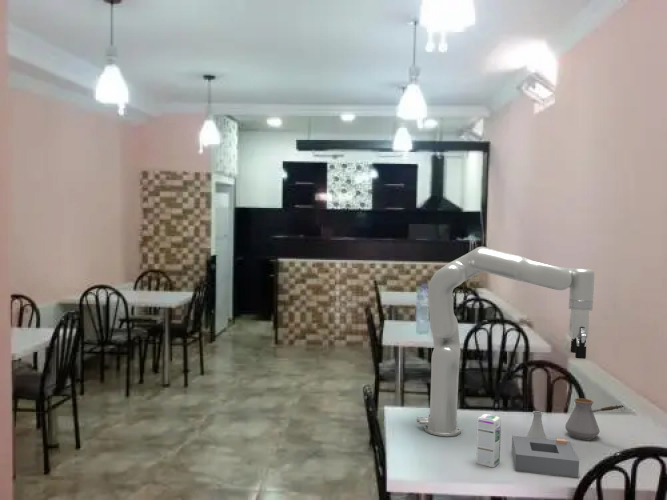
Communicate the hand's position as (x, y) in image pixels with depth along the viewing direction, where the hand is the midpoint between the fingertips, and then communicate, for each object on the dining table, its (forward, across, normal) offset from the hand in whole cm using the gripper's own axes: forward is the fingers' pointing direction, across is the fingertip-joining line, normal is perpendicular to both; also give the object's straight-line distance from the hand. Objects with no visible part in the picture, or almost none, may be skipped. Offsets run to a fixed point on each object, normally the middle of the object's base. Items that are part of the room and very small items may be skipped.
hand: (577, 355), depth 217 cm
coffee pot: (+31, -8, +8) cm, 33 cm away
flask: (+31, -1, -12) cm, 33 cm away
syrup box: (+31, +26, -29) cm, 50 cm away
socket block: (+31, +21, -12) cm, 39 cm away
